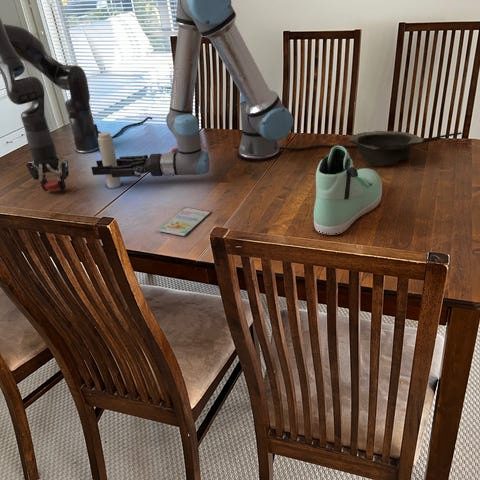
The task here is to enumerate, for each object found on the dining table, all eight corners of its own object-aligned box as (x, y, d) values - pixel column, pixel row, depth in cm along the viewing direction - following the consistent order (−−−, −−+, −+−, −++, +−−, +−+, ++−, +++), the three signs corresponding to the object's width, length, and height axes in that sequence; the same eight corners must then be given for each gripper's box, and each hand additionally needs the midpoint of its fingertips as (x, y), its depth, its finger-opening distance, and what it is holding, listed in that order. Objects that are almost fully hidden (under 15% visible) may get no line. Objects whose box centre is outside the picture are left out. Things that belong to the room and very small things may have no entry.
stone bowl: (381, 177, 154) (382, 149, 150) (333, 159, 175) (333, 134, 170) (437, 158, 163) (440, 131, 159) (386, 143, 183) (387, 119, 179)
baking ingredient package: (157, 229, 135) (185, 206, 146) (157, 231, 135) (185, 208, 146) (183, 235, 131) (210, 211, 142) (183, 236, 131) (210, 212, 143)
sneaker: (389, 187, 148) (396, 123, 138) (356, 242, 123) (361, 168, 112) (346, 181, 154) (350, 119, 144) (306, 232, 129) (307, 161, 118)
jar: (106, 188, 163) (95, 136, 153) (108, 182, 167) (97, 131, 157) (120, 187, 163) (110, 135, 154) (121, 181, 167) (111, 130, 158)
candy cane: (151, 162, 180) (151, 158, 180) (178, 149, 190) (177, 145, 190) (163, 165, 177) (162, 161, 176) (189, 151, 187) (189, 147, 187)
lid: (54, 182, 165) (53, 178, 165) (65, 184, 163) (64, 180, 162) (42, 188, 162) (40, 184, 161) (52, 191, 159) (51, 186, 158)
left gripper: (14, 147, 152) (30, 195, 161) (56, 146, 150) (70, 195, 159) (26, 138, 158) (40, 185, 167) (66, 137, 156) (79, 185, 165)
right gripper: (159, 186, 154) (89, 189, 156) (169, 164, 170) (104, 167, 171) (155, 164, 151) (83, 167, 152) (165, 144, 166) (100, 147, 167)
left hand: (54, 190), depth 163 cm, fingers closed on lid, 5 cm apart
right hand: (95, 167), depth 162 cm, fingers closed on jar, 5 cm apart
